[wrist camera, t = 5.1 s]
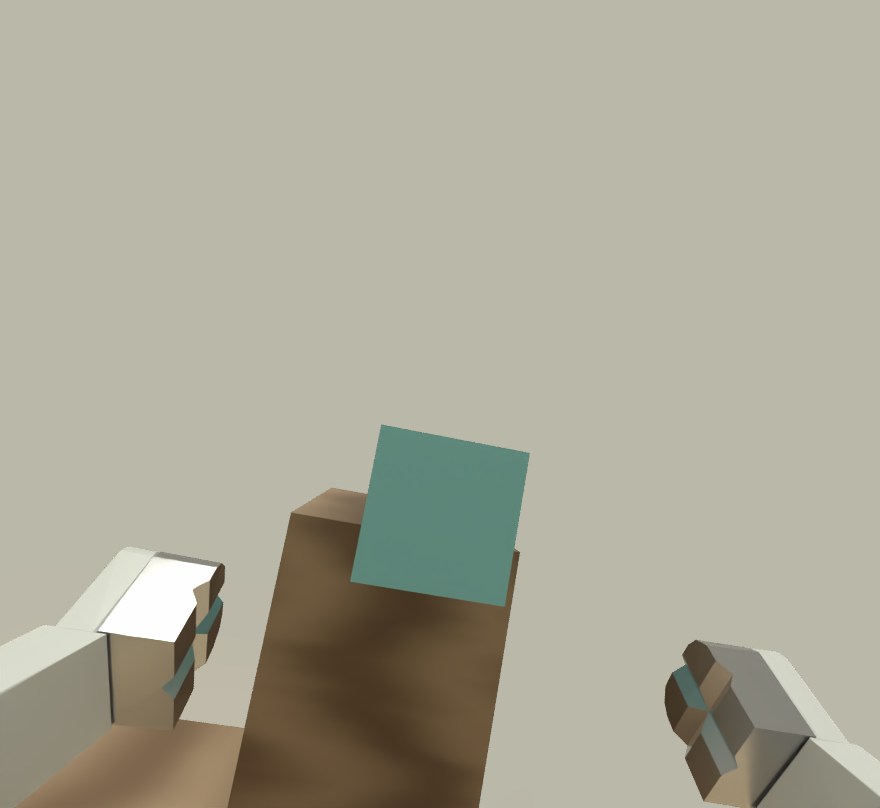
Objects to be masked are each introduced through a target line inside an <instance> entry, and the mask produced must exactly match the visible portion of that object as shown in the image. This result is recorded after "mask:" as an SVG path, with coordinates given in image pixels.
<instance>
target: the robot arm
mask: <svg viewBox="0 0 880 808" xmlns="http://www.w3.org/2000/svg"><path fill="white" fill-rule="evenodd" d="M224 578H225V566H224V565H223V564H222V563H217V562H212V561H207V560H201V559H196V558H191V557H186V556H180V555H175V554H170V553H164V552H154V551H149V550H144V549H139V548H134V547H126V548H125V549H123V550H121V551H119V552H118V553H117V554H116V555H115V557H114V558H113V559H112V560H111V561H110V562H109V564H108V565H107V566H106V567H105V568H104V569H103V571H102V572H101V573H100V574H99V575H98V576H97V577H96V579H95V580H94V581H93V582H92V584H91V585H90V586H89V587H88V588H87V589H86V590H85V592H84V593H83V594H82V595H81V596H80V597H79V598H78V600H77V601H76V602H75V603H74V604H73V605H72V607H71V608H70V609H69V610H68V611H67V612H66V614H65V615H64V616H63V617H62V618H61V619H60V620H59V622H58V623H57V624H56V625H55V626H50V625H43V626H40V627H38V628H36V629H34V630H32V631H30V632H28V633H26V634H24V635H22V636H20V637H18V638H16V639H14V640H11V641H9V642H8V643H5V644H3V645H1V646H0V808H14V807H16V806H17V805H18V804H19V803H21V802H22V801H23V800H24V799H26V798H27V797H28V796H29V795H31V794H32V793H33V792H34V791H35V790H37V789H38V788H39V787H40V786H42V785H43V784H44V783H45V782H47V781H48V780H49V779H50V778H51V777H53V776H54V775H55V774H56V773H58V772H59V771H60V770H61V769H63V768H64V767H65V766H66V765H67V764H69V763H70V762H71V761H72V760H74V759H75V758H76V757H77V756H79V755H80V754H81V753H82V752H83V751H85V750H86V749H87V748H88V747H90V746H91V745H92V744H93V743H95V742H96V741H97V740H98V739H100V738H101V737H102V736H103V735H104V734H106V733H107V732H108V731H109V730H111V728H112V725H120V726H130V727H139V728H149V729H159V730H169V731H173V730H174V728H175V726H176V724H177V722H178V720H179V718H180V715H181V714H182V712H183V709H184V707H185V705H186V703H187V701H188V699H189V697H190V695H191V693H192V691H193V687H194V685H193V684H194V671H195V670H197V669H198V668H200V667H201V666H203V665H204V664H205V663H206V662H207V659H208V657H209V655H210V653H211V651H212V648H213V646H214V643H215V640H216V637H217V634H218V631H219V628H220V623H221V618H222V610H223V602H222V600H221V599H220V598H219V597H218V593H219V591H220V589H221V588H222V586H223V584H224ZM683 659H684V662H685V665H684V666H683V667H681V668H679V669H677V670H676V671H674V672H672V674H671V676H670V678H669V680H668V682H667V684H666V688H665V707H666V712H667V716H668V719H669V721H670V724H671V726H672V729H673V731H674V732H675V733H676V734H677V735H678V736H679V737H680V738H681V739H682V740H683V741H684V742H685V743H686V744H687V745H688V746H687V751H686V756H685V759H686V762H687V764H688V766H689V768H690V771H691V773H692V776H693V778H694V780H695V782H696V785H697V787H698V789H699V791H700V794H701V796H702V798H703V801H705V802H711V803H717V804H723V805H729V806H735V807H741V808H880V762H879V761H878V760H877V759H875V758H874V757H873V756H872V755H870V754H869V753H868V752H867V751H865V750H864V749H863V748H861V747H860V746H859V745H856V744H850V743H849V742H848V741H847V740H846V738H845V737H844V736H843V734H842V733H841V731H840V730H839V729H838V727H837V726H836V725H835V723H834V722H833V721H832V719H831V718H830V717H829V715H828V714H827V712H826V711H825V710H824V709H823V707H822V706H821V704H820V703H819V702H818V700H817V699H816V697H815V696H814V695H813V693H812V692H811V691H810V689H809V688H808V687H807V685H806V684H805V682H804V681H803V680H802V678H801V677H800V676H799V674H798V673H797V672H796V670H795V669H794V667H793V666H792V665H791V663H790V662H789V661H788V660H787V659H786V658H785V657H784V656H782V655H781V654H780V653H778V652H773V651H766V650H760V649H753V648H745V647H738V646H732V645H725V644H719V643H712V642H705V641H699V640H695V641H694V642H692V643H690V644H689V645H688V646H687V648H686V650H685V651H684V653H683Z"/></svg>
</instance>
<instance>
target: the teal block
mask: <svg viewBox="0 0 880 808" xmlns="http://www.w3.org/2000/svg"><path fill="white" fill-rule="evenodd" d="M528 460H529V453H526V452H521V451H516V450H511V449H506V448H501V447H495V446H490V445H485V444H480V443H475V442H469V441H464V440H458V439H454V438H448V437H443V436H438V435H433V434H427V433H422V432H417V431H411V430H407V429H401V428H396V427H391V426H386V425H381V430H380V434H379V439H378V444H377V449H376V455H375V459H374V465H373V469H372V474H371V479H370V484H369V489H368V494H367V499H366V504H365V509H364V514H363V519H362V524H361V530H360V535H359V540H358V545H357V550H356V555H355V560H354V565H353V570H352V575H351V580H350V582H356V583H362V584H368V585H374V586H380V587H386V588H393V589H399V590H405V591H411V592H417V593H423V594H429V595H435V596H442V597H448V598H454V599H460V600H466V601H472V602H478V603H484V604H491V605H497V606H503V607H505V602H506V596H507V589H508V583H509V577H510V571H511V565H512V559H513V553H514V546H515V540H516V534H517V528H518V522H519V516H520V510H521V503H522V497H523V491H524V485H525V479H526V473H527V467H528Z"/></svg>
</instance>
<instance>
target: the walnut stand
mask: <svg viewBox="0 0 880 808" xmlns="http://www.w3.org/2000/svg"><path fill="white" fill-rule="evenodd" d="M366 499H367V494H364V493H358V492H353V491H347V490H341V489H336V488H331V489H329V490H327V491H326V492H324V493H322V494H321V495H319V496H317V497H316V498H314V499H312V500H311V501H309V502H308V503H306V504H304V505H303V506H301V507H299V508H298V509H296V510H295V511H293V512H291V516H290V520H289V525H288V530H287V535H286V539H285V543H284V548H283V553H282V558H281V562H280V567H279V571H278V576H277V580H276V585H275V590H274V594H273V599H272V604H271V608H270V613H269V618H268V622H267V627H266V632H265V636H264V641H263V646H262V650H261V654H260V660H259V664H258V668H257V673H256V677H255V682H254V687H253V691H252V696H251V701H250V705H249V710H248V714H247V719H246V724H245V728H239V727H232V726H224V725H217V724H209V723H202V722H194V721H187V720H178V722H177V724H176V726H175V728H174V730H173V731H169V730H159V729H149V728H139V727H130V726H120V725H112V728H111V730H109V731H108V732H107V733H106V734H104V735H103V736H102V737H101V738H100V739H98V740H97V741H96V742H95V743H93V744H92V745H91V746H90V747H88V748H87V749H86V750H85V751H83V752H82V753H81V754H80V755H79V756H77V757H76V758H75V759H74V760H72V761H71V762H70V763H69V764H67V765H66V766H65V767H64V768H63V769H61V770H60V771H59V772H58V773H56V774H55V775H54V776H53V777H51V778H50V779H49V780H48V781H47V782H45V783H44V784H43V785H42V786H40V787H39V788H38V789H37V790H35V791H34V792H33V793H32V794H31V795H29V796H28V797H27V798H26V799H24V800H23V801H22V802H21V803H19V804H18V805H17V806H16V807H14V808H479V802H480V796H481V790H482V784H483V778H484V772H485V765H486V759H487V753H488V746H489V741H490V734H491V728H492V721H493V716H494V710H495V703H496V697H497V691H498V684H499V679H500V672H501V666H502V660H503V653H504V648H505V641H506V635H507V629H508V622H509V616H510V610H511V604H512V598H513V591H514V585H515V579H516V573H517V567H518V561H519V554H520V552H519V551H517V550H516V549H514V553H513V559H512V565H511V571H510V577H509V583H508V589H507V596H506V602H505V607H503V606H497V605H491V604H484V603H478V602H472V601H466V600H460V599H454V598H448V597H442V596H435V595H429V594H423V593H417V592H411V591H405V590H399V589H393V588H386V587H380V586H374V585H368V584H362V583H356V582H350V580H351V575H352V570H353V565H354V560H355V555H356V550H357V545H358V540H359V535H360V530H361V524H362V519H363V514H364V509H365V504H366Z"/></svg>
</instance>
